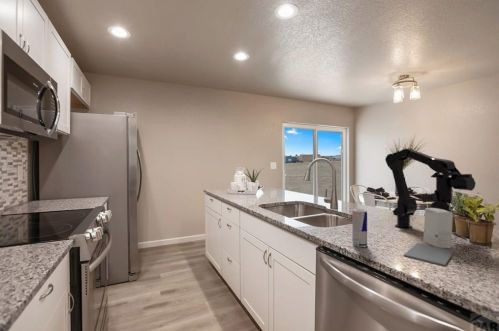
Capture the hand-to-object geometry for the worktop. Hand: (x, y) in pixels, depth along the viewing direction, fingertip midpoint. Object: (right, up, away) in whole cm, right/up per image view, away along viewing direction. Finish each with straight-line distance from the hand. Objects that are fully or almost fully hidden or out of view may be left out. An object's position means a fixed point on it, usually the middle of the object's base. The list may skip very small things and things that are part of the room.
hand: (443, 222), depth 110 cm
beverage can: (-42, -8, -8) cm, 43 cm away
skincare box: (-10, -8, -9) cm, 15 cm away
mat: (-20, -8, -18) cm, 28 cm away
